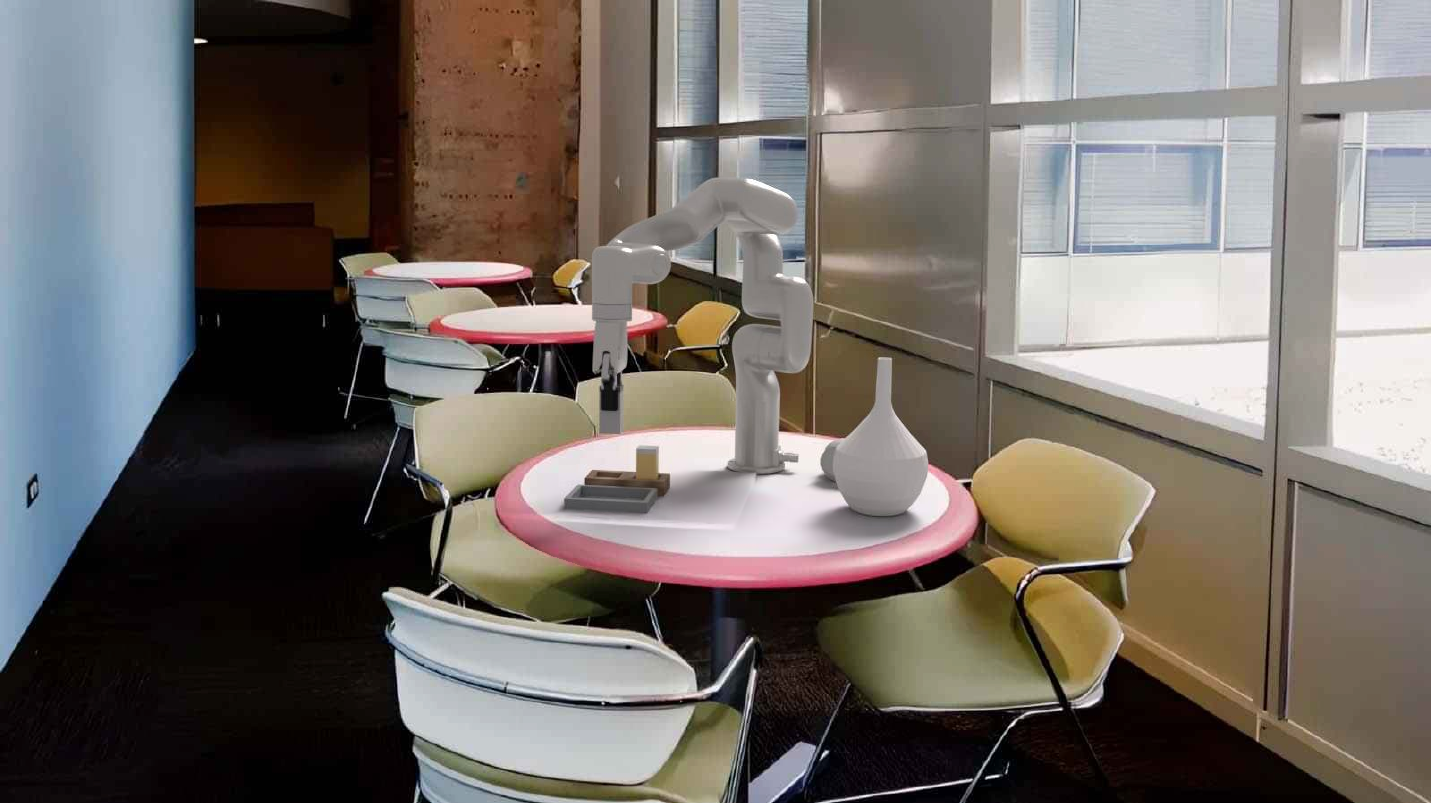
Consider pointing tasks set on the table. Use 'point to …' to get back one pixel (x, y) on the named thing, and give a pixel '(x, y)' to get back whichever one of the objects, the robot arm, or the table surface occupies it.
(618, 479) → the block
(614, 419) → the block
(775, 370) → the robot arm
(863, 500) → the vase
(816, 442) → the table surface
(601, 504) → the parts tray
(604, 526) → the table surface
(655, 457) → the block
